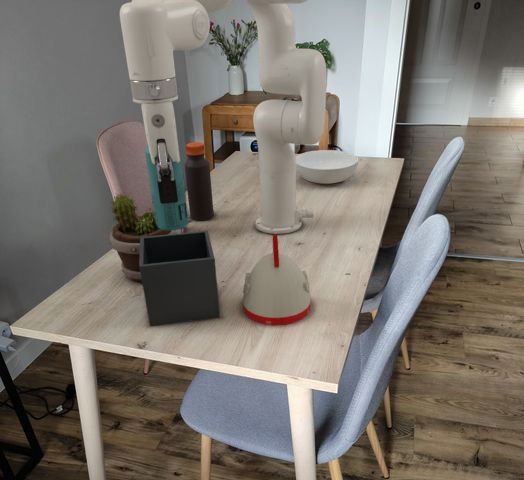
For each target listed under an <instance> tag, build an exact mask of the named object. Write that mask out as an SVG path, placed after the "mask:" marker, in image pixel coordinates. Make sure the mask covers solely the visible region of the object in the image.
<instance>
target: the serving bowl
mask: <svg viewBox="0 0 524 480" xmlns="http://www.w3.org/2000/svg"><path fill="white" fill-rule="evenodd" d="M295 158H296V173H297V174H298V175H299V176H300V177H301V178H302V179H303V180H306V181H308V182H311V183H315V184H319V185H320V184H321V185H330V184H331V185H332V184H336V183H340V182H343V181H346V180H348V179H349V178H351V177H352V176H353V175H354V173H355V172H356V170H357V168H358V165H359V157H358V156H357V155H355V154H354V153H351V152H346V151H342V150H336V149H335V150H334V149H319V150H311V151H306V152H305V151H304V152H303V153H300V154H298V155H295Z"/></svg>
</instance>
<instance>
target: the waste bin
mask: <svg viewBox="0 0 524 480" xmlns="http://www.w3.org/2000/svg"><path fill="white" fill-rule="evenodd" d="M212 245H213V244H212V242H211V238H210V234H209V230H199V231H189V232H188V231H187V232H184V233H177V234H167V235H157V236H147V237H140V259H139V268H140V274H141V279H142V283H141V284H142V289H143V295H144V301H145V307H146V312H147V317H148V322H149V327H153V326H160V325H169V324H176V323H185V322H195V321H202V320H213V319H220V318H221V314H220V313H221V312H220V303H219V301H220V300H219V291H218V281H217V269H216V258H215V255H214V250H213V246H212Z"/></svg>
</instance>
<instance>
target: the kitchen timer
mask: <svg viewBox="0 0 524 480" xmlns="http://www.w3.org/2000/svg"><path fill="white" fill-rule="evenodd" d="M311 299H312V298H311V288H310V283H309V279H308V274H307V271H306V270H303V271H302V269H301V267H300V266H299V265H298V263H297V262H296V261H295V260H293V259H292V258H291V257H290V256H288V255H287V254H285V253H282V252H280V251H279V238H278V234H272V252H270V253H268V254H266V255H264V256H263V257H262V258H261V259H259V260H258V262H256V263H255V265H254V266H253V268H252V269H251V271H250V272H246V274H245V277H244V284H243V295H242V309H243V312H244V314H245V316H247V317H248V318H249V319H250V320H252V321H254V322H255V323H256V322H257V323H258V324H259V323H260V324H263V325H268V326H269V325H270V326H284V325H289V324H293V323H296V322H299V321H301V320H302V319H304V318H306V317H307V316H308V315H309V314H310V311H311V305H312V304H311V303H312V302H311V301H312V300H311Z"/></svg>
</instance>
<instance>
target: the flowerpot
mask: <svg viewBox="0 0 524 480" xmlns="http://www.w3.org/2000/svg"><path fill="white" fill-rule="evenodd" d="M117 191H118V192H115V195H114V196H113V198H112V201H111V202H110V205H111V208H109V210H110V213H111V214H112V215H113V216H112V219H113V221H116V222H117V223H115V226H113V227H112V230H111V232H110V234H109V242H108V244H109V245H110V246H111V248H112V249H113V250H115V251H116V252H117V254H118V257H119V259H120V261H121V264H120V265H121V271H122V273H124V274H125V276H126V277H128V279H130V280H131V281H133V282H135V283H140V284H142V279H141V274H140V268H139V259H140V237H147V236H157V235H167V234H176V230H162V229H160V228H158V226H157V224H156V222H155V220H156V219H155V217H154V214H155V213H154V209H152V208H151V207H148V206H147V209H148V210H145V212H144V213H142V215H139V212H137V211H139V209H138V208H139V207H140V205H137V204H135V202H136V200H135V199H136V198H134V199H133V197H132V196H130V197H129V194H127V192H126V191H125V192H123V193H121V191H120V189H117Z"/></svg>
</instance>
